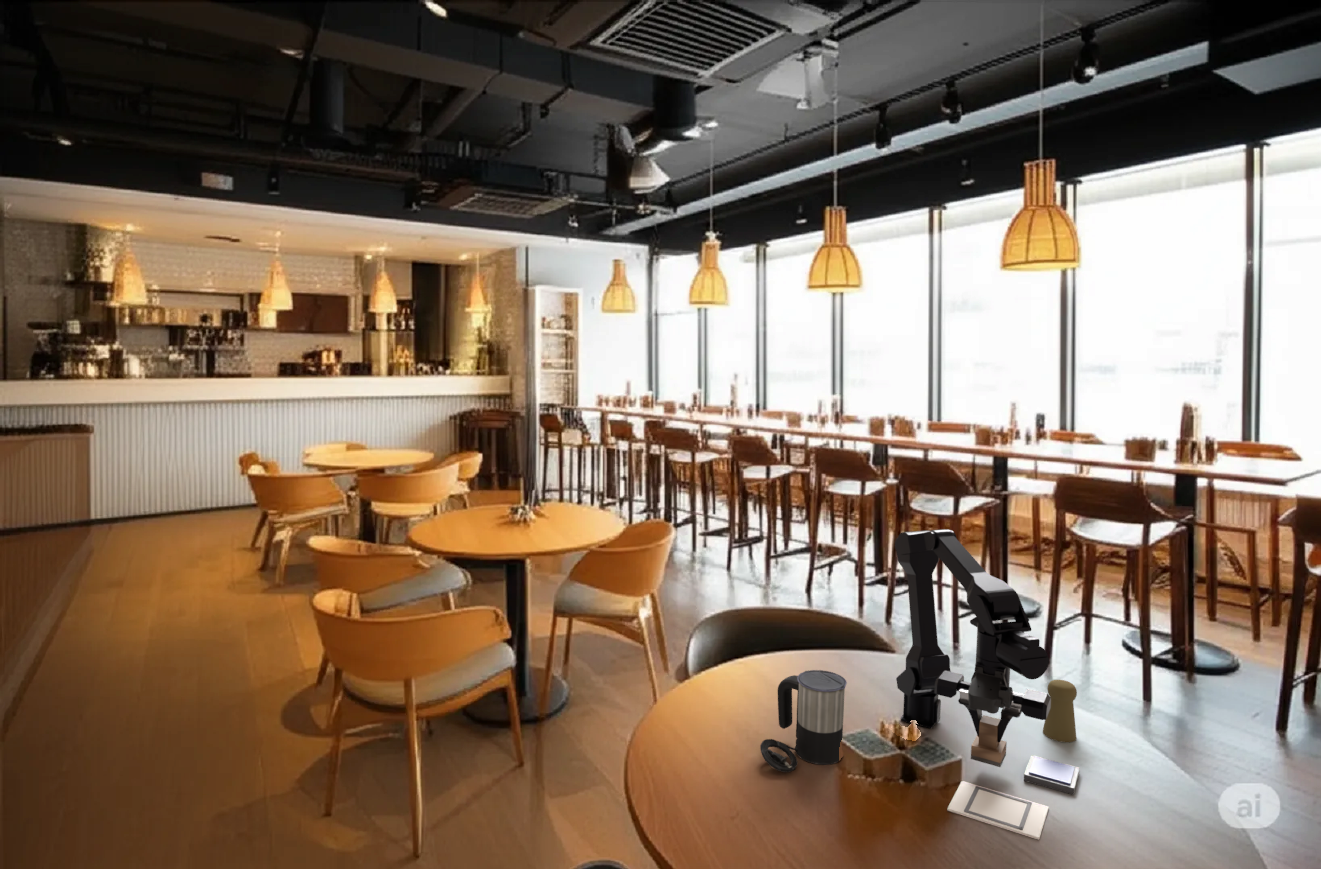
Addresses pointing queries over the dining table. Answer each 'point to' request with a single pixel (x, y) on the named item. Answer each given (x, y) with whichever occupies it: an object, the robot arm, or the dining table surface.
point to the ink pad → (1052, 774)
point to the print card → (999, 809)
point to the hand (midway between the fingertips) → (989, 738)
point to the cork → (1061, 712)
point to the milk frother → (809, 719)
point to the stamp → (988, 743)
